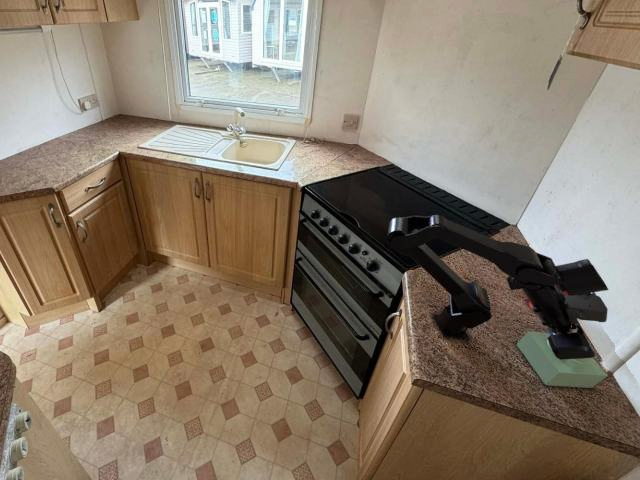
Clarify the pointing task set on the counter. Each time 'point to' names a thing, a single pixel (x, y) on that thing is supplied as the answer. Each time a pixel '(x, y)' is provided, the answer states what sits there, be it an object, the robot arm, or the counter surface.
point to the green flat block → (559, 364)
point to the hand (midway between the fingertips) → (574, 344)
